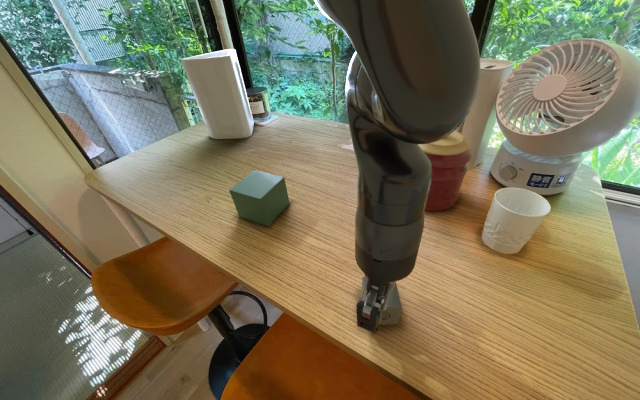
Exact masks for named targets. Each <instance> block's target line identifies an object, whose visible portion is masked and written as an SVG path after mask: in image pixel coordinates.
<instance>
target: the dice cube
mask: <svg viewBox="0 0 640 400" xmlns="http://www.w3.org/2000/svg"><path fill="white" fill-rule="evenodd" d="M364 285H365V283H364V276H363V277H361V296H362V295H363V290H364ZM385 295H386V294H385ZM385 295H384V296H382V297H377V298H380V299H385ZM402 308H403V307H402V303H401V298H400V293H399V289H398V286H397V281H396V282H395V286H394V289H393V291H392V292H391V295H390V299H389V303H388V306H387V309H386V310H384V311H383V312H382V316H381V318H382V320H381V321H380V325H399V321H400V318H401V312H402Z"/></svg>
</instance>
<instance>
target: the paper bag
mask: <svg viewBox="0 0 640 400" xmlns="http://www.w3.org/2000/svg"><path fill="white" fill-rule="evenodd" d="M180 62H181V64H182V67H183V70H184V72H185V75H186V78H187V80H188V83H189V85H190V88H191V91H192V93H193V96H194V98H195V101H196V104H197V106H198V109H199V112H200V114H201V117H202V119H203V123H204V125H205V128H206V130H207V134H208V135H209V137H210V138H211V139H212V140H223V139H225V140H226V139H245V138H249V137H251V136H252V135H253V131H254V126H255V122H254V121H255V120H254V118H253V113H252V110H251V106H250V105H251V104H250V103H249V98H248V94H247V91H246V86H245V82H244V78H243V74H242V70H241V66H240V63H239V59H238V55H237V50H236V49H235V48H228V49H227V48H226V49H222V50H217V51H212V52H207V53H203V54H198V55H192V56H188V57H183V58H180Z"/></svg>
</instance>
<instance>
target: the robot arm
mask: <svg viewBox="0 0 640 400" xmlns="http://www.w3.org/2000/svg"><path fill="white" fill-rule="evenodd" d="M314 2H315V4H316V6H317V7H318V9H319V10H320V12H321V13H322V14H323V16H324V17H325V18H326V19H327V20H328V21H330V22H331V23H332V24H334V25H336V26H337V27H338V28H339V29H340V30H341V31H342V32H343V33H344V34H345V35H346V37H347V38H348V40H349V41H350V43H351V45H352V47H353V49H354V51H355V52H354V53H353V55H352V58H351V60H350V62H349V65H348V68H347V73H346V79H345V88H344V89H345V90H344V93H345V94H344V97H345V106H346V107H345V109H346V110H345V111H346V115H347V122H348V127H349V133H350V138H351V143H352V149H353V152H354V156H355V159H356V164H357V182H356V183H357V197H356V198H357V199H356V202H357V203H356V210H355V214H354V215H355V216H354V258H355V263H356V265H357V267H358V268H359V270H360V271H361V272H362V273H363V274H364V276H363V277H364V283H365V285H364V290H363V295H362V294H361V300H360V299H359V300H358V302H357V303H356V309H355V310H356V326H357V327H359V328H362V329H364V330H366V331H369V332H371V334H374V335H377V334H376V333H378V332H379V331H380V327H381V324H380V321H381V320H382V318H381V316H382V312H383V311H384V310H386V309H387V306H388V303H389V299H390V295H391V292H392V291H393V289H394V286H395V282H396V283H397V282H399V281H401V280H404V279H405V278H407V277H408V276H410V274H412V272H413V271H414V269H415V266H416V262H417V258H418V255H419V251H420V245H421V241H422V237H423V233H424V229H425V213H426V210H425V208H426V203H427V199H428V194H429V190H430V186H431V181H432V164H431V162H430V160H429V158H428V157H427V155H426V154H425V153H424V152H423V150H422V149H421V148H420V146H419V145H418V144H429V143H433V142H436V141H438V140H441V139H443V138H445V137H447V136H448V135H450V134H451V133H452V132H454V131H457V129H458V128H459V127H460V126H461V125H462V124H463V122H464V121H465V120H466V118H467V117H468V115H469V113H470V112H471V110H472V108H473V105H474V103H475V101H476V98H477V95H478V91H479V86H480V81H481V80H480V79H481V55H480V50H479V49H480V48H479V44H478V39H477V36H476V32H475V29H474V26H473V24H472V20H471V18H470V15H469V13H468V10H467V8H466V6H465V3H464V0H314ZM385 294H386V295H385ZM384 295H385V299H380V298H377V297H382V296H384Z"/></svg>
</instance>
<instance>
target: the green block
mask: <svg viewBox="0 0 640 400" xmlns="http://www.w3.org/2000/svg"><path fill="white" fill-rule="evenodd" d="M228 191H229V194H230V196H231V200H232V202H233V204H234V207H235V210H236V213H237V215H238V217H240V218H242V219H245V220H249V221H251V222H254V223H256V224H260V225H263V226H266V227H269V226H270V225H271V224H272V223H273V222H274V221H275V220H276V219H277V218H278V217H279V215H280V214H281V213H282V212H283V211H284V210H285V209H286V208H287V207H288V206H289V205H290V199H289V193H288V188H287V183H286V179H285V177H284V176H281V175H277V174H273V173H270V172H264V171H260V170H256V169H254V170H252V171H251V172H250V173H248V174H247V175H246V176H245V177H243V178H242V179H241V180H240V181H239V182H237V183H236V184H235V185H233V186H232V187H231V188H230V189H229V190H228Z"/></svg>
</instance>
